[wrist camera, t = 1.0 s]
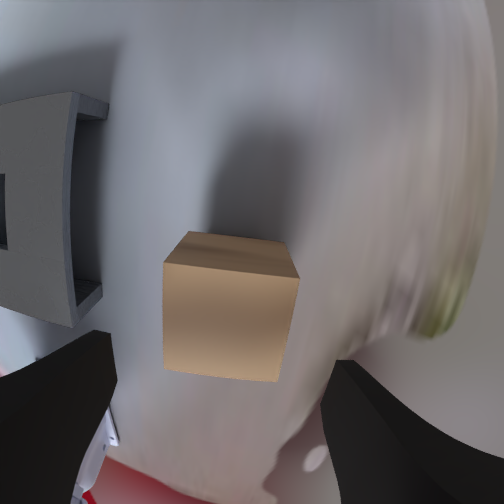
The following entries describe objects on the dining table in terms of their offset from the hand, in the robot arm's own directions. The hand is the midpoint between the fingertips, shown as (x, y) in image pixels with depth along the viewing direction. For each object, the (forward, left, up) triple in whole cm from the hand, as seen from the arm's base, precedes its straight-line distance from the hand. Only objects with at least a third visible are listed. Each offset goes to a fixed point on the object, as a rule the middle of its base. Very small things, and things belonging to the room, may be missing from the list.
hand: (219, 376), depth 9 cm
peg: (0, 0, -10) cm, 10 cm away
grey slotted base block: (+3, +19, -10) cm, 22 cm away
